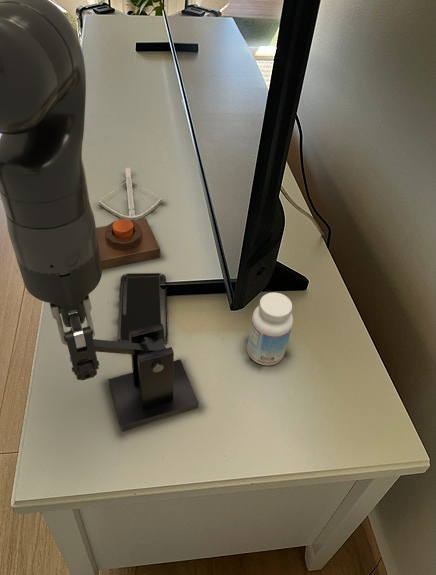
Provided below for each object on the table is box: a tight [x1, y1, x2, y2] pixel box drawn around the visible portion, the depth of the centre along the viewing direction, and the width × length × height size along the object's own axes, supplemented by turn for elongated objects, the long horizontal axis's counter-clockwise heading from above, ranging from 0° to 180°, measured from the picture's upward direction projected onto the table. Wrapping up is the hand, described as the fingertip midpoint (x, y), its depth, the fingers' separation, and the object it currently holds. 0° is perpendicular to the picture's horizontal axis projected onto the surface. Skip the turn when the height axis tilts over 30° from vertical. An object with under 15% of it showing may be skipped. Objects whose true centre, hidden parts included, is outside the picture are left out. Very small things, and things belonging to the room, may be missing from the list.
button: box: [113, 218, 134, 239], centre depth 89 cm, size 4×4×2 cm
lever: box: [69, 327, 167, 356], centre depth 61 cm, size 12×4×2 cm, turn 111°
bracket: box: [107, 323, 199, 432], centre depth 67 cm, size 11×8×13 cm
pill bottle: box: [246, 292, 294, 366], centre depth 74 cm, size 6×6×11 cm
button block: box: [96, 218, 161, 270], centre depth 91 cm, size 11×9×4 cm
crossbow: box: [98, 167, 163, 221], centre depth 103 cm, size 16×13×2 cm
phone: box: [116, 272, 169, 345], centre depth 82 cm, size 8×1×15 cm
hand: (79, 346), depth 58 cm, fingers open, 8 cm apart
